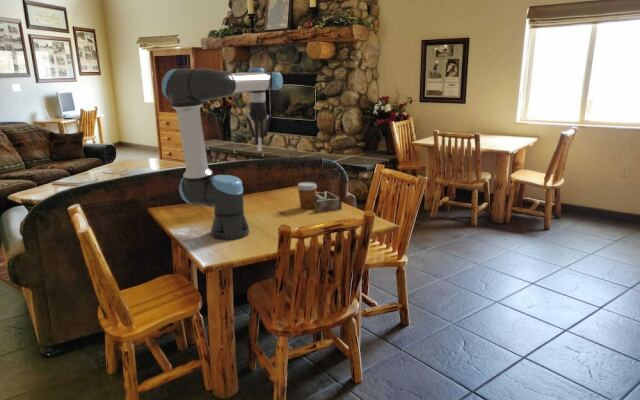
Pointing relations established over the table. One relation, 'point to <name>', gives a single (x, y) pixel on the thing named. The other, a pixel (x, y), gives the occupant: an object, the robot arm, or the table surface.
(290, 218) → the table surface
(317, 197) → the gauge plunger
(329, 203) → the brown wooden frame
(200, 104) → the robot arm
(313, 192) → the disposable coffee cup
